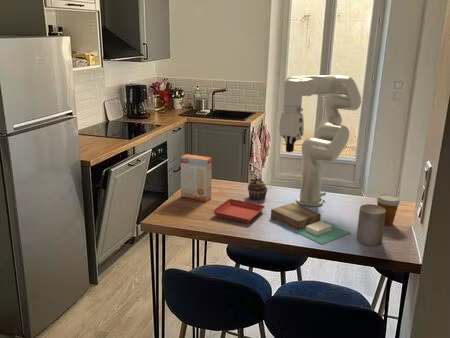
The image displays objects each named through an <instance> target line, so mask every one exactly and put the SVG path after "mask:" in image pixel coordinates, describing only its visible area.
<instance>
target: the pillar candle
mask: <svg viewBox="0 0 450 338" xmlns="http://www.w3.org/2000/svg"><path fill="white" fill-rule="evenodd" d="M358 213H359V214H358V221H357V231H356V241H357V242H358V243H359V244H362V245H365V246H369V247H377V246H378V247H379V246H380V245H381V244H383V243H382V242H383V238H384V229H385V226H384V221H385V213H386V210H385V209H384V208H383V207H381V206H378V205H377V204H372V203H371V204H370V203H366V204H361V205H360V206H359V212H358Z"/></svg>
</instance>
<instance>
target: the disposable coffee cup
mask: <svg viewBox="0 0 450 338" xmlns="http://www.w3.org/2000/svg"><path fill="white" fill-rule="evenodd" d="M376 201H377V204H376V205H378V206H381V207H383V208H384V209H385V210H386V213H385V221H384V227H391V226H393V225H394V221H395V218H396V214H397V211H398V208H399V205H400V203H401V201H400V197H398V196H396V195H394V194H390V193H389V194H388V193H381V194H378V195H377V197H376Z"/></svg>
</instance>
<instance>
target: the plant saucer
mask: <svg viewBox="0 0 450 338" xmlns="http://www.w3.org/2000/svg"><path fill="white" fill-rule="evenodd" d="M264 209H265V205H263V204H262V205H261V204H257V203H252V202H248V201H242V200H239V199H233V198H228V199H227V200H225V201H224V202H223V203H221V204H220V205H219V206H217V207H216V208H214V209H213V210H212V212H213V214H214V215H215V216H216V217H218V218H220V219H221V218H222V219H225V220H226V219H227V220H230V221H236V222H239V223H243V224H244V223H245V224H249V223H250V222H251V221H252V220H253V219H255V217H257V216H258V215H259V213H261V212H262V211H263V210H264Z"/></svg>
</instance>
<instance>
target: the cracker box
mask: <svg viewBox="0 0 450 338" xmlns="http://www.w3.org/2000/svg"><path fill="white" fill-rule="evenodd" d="M212 159H213V158H212V157H211V156H210V157H209V156H205V155H203V156H202V155H196V154H188V153H185V154H184V155H181V156H180V195H181V196H180V197H181V198H184V197H185V198H186V199H191V200H197V201H202V202H208V201H209V200H210V199H212V170H213V169H212V167H213V166H212V164H213V163H212ZM185 198H184V199H185Z"/></svg>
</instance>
